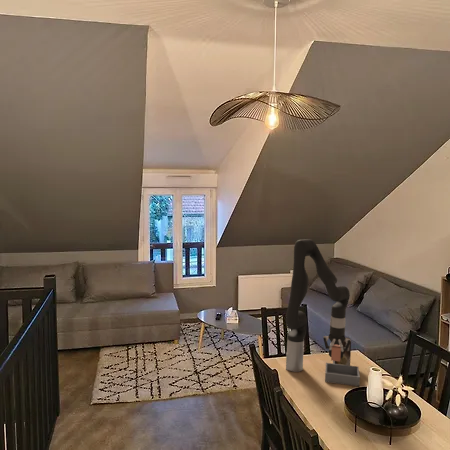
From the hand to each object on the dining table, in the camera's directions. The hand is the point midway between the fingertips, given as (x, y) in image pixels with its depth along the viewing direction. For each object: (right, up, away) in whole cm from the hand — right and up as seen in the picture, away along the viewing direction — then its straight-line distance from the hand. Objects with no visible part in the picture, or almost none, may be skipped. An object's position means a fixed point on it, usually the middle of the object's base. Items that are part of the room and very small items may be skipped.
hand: (335, 357), depth 225 cm
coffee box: (+11, -14, +30) cm, 35 cm away
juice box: (0, -1, 0) cm, 1 cm away
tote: (+7, -16, +13) cm, 22 cm away
